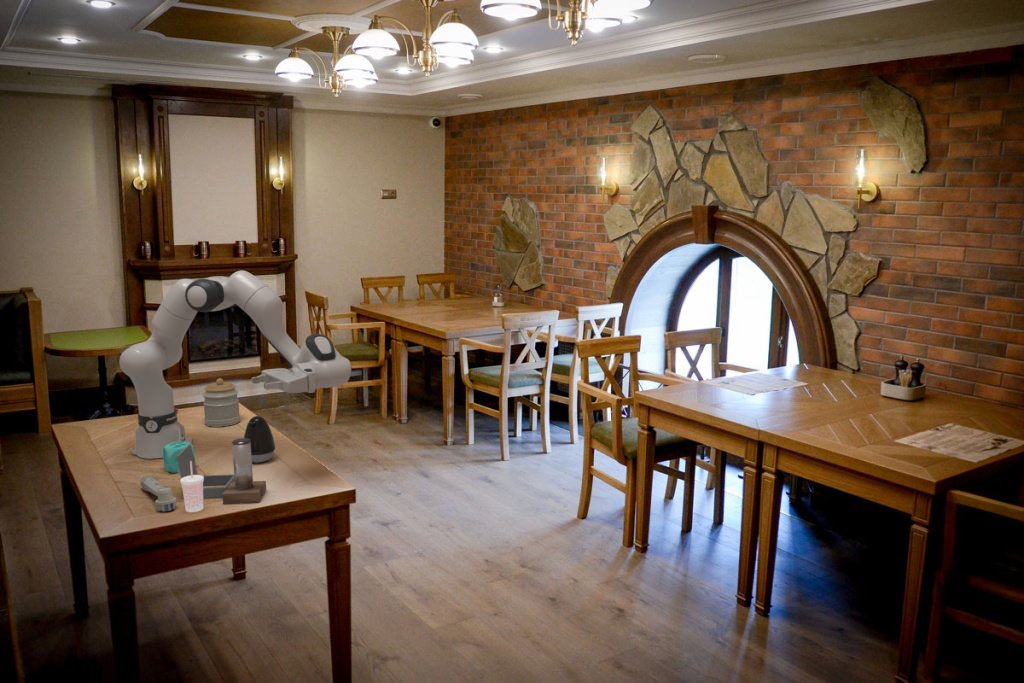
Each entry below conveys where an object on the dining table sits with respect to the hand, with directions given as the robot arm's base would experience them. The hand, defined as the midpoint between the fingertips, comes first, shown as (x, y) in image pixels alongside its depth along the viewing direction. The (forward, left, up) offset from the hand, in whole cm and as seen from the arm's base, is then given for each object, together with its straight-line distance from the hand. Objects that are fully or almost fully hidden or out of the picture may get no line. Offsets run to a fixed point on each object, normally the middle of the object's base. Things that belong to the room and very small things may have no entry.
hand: (258, 383), depth 245 cm
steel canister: (+11, -3, -28) cm, 30 cm away
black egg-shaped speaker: (-22, -6, -31) cm, 39 cm away
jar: (-71, -31, -31) cm, 83 cm away
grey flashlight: (+10, -28, -32) cm, 44 cm away
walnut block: (+11, -3, -31) cm, 33 cm away
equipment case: (+5, -14, -31) cm, 35 cm away
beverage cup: (+19, -15, -31) cm, 40 cm away
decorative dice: (-17, -30, -31) cm, 47 cm away
